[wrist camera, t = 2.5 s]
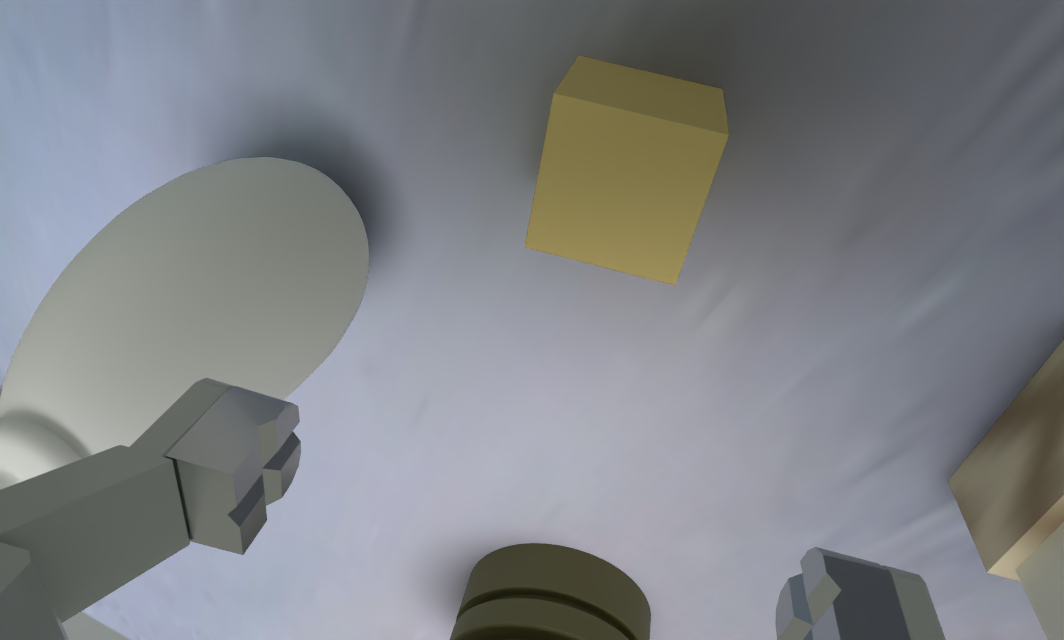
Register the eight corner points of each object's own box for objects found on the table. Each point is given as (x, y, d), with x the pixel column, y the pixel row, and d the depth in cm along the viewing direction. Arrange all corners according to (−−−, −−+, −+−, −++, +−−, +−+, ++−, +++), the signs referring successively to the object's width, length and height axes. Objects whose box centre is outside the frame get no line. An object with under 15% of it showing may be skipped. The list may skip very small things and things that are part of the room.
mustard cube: (579, 54, 22) (553, 92, 18) (722, 88, 22) (729, 135, 18) (551, 188, 25) (524, 247, 21) (678, 219, 25) (675, 285, 21)
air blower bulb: (443, 249, 28) (161, 662, 13) (317, 312, 31) (-21, 697, 16) (326, 82, 25) (-216, 375, 10) (200, 173, 28) (-342, 491, 13)
